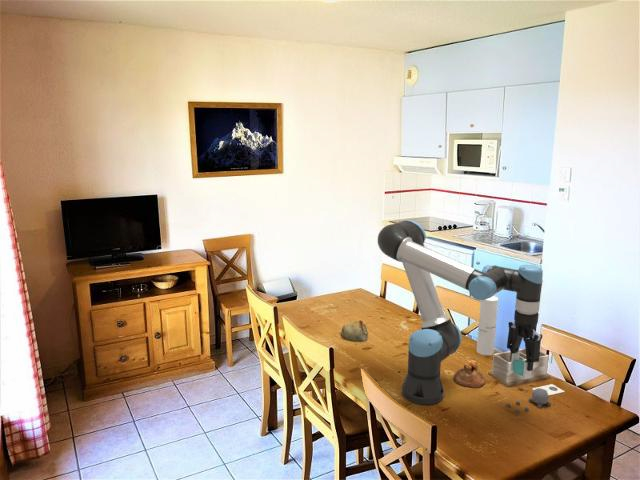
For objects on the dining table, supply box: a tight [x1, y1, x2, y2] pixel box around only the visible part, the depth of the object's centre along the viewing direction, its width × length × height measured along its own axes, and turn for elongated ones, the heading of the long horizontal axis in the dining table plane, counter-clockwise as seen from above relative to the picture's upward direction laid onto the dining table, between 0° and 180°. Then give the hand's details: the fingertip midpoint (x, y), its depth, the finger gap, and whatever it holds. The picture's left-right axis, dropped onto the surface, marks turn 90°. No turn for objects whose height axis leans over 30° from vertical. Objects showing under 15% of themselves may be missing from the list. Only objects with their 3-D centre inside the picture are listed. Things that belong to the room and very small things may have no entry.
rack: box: [488, 347, 551, 388], centre depth 199 cm, size 21×11×9 cm, turn 111°
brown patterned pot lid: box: [453, 361, 486, 389], centre depth 195 cm, size 12×12×7 cm
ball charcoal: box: [531, 388, 550, 405], centre depth 180 cm, size 6×6×6 cm
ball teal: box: [513, 360, 525, 376], centre depth 174 cm, size 6×6×6 cm
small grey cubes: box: [505, 397, 552, 415], centre depth 178 cm, size 15×5×1 cm, turn 111°
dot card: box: [531, 383, 565, 396], centre depth 189 cm, size 10×6×1 cm, turn 111°
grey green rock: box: [341, 320, 369, 342], centre depth 237 cm, size 14×12×8 cm
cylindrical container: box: [476, 295, 499, 356], centre depth 219 cm, size 7×7×25 cm
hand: (520, 374), depth 175 cm, fingers closed on ball teal, 5 cm apart
